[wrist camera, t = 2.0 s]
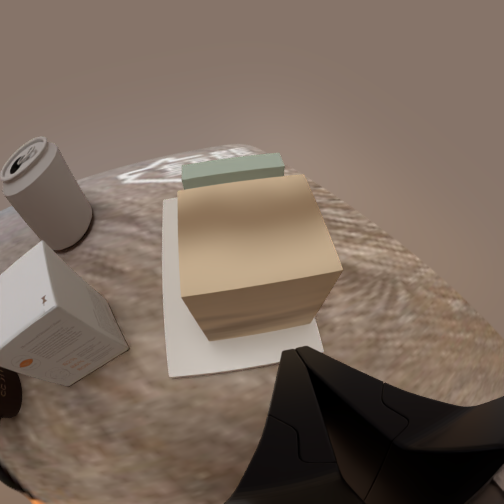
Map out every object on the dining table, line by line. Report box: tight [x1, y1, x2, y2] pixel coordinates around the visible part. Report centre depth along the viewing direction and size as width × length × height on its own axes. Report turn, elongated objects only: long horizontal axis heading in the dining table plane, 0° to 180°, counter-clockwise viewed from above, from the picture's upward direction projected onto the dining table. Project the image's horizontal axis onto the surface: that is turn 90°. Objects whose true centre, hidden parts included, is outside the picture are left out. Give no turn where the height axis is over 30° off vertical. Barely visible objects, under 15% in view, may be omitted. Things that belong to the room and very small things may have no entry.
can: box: [0, 136, 92, 250], centre depth 22 cm, size 8×8×12 cm
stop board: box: [182, 153, 285, 190], centre depth 25 cm, size 2×9×5 cm, turn 100°
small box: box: [0, 240, 129, 386], centre depth 16 cm, size 8×6×10 cm
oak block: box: [178, 174, 343, 341], centre depth 18 cm, size 7×8×9 cm
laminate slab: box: [162, 197, 324, 378], centre depth 24 cm, size 18×12×1 cm, turn 10°
